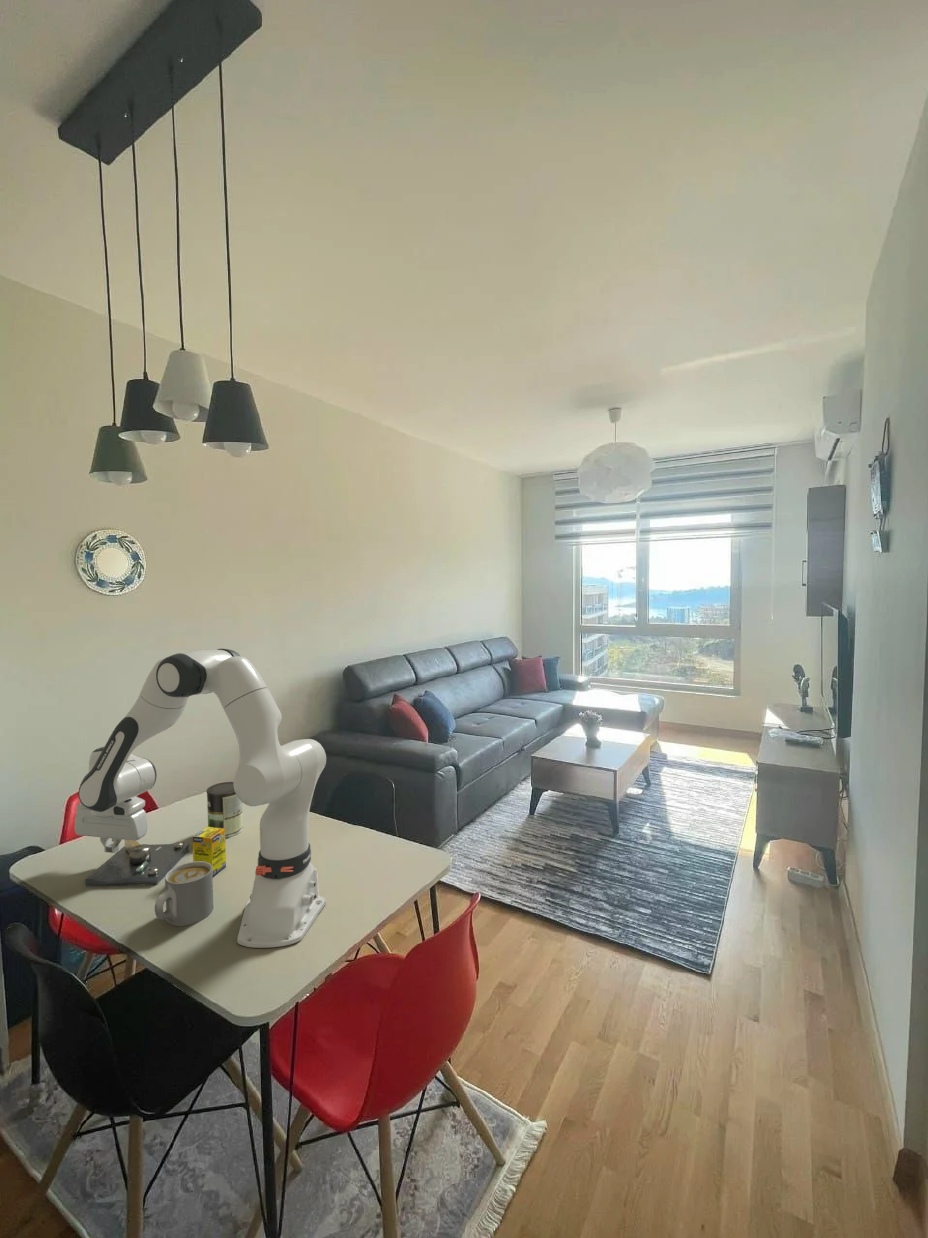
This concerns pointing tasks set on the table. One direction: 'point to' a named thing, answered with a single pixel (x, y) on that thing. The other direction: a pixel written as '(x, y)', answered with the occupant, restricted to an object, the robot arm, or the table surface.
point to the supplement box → (210, 848)
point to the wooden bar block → (137, 851)
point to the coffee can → (224, 808)
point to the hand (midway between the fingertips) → (111, 851)
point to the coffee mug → (187, 894)
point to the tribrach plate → (138, 867)
